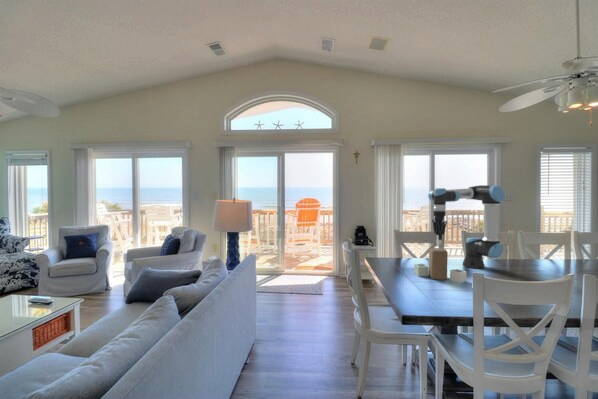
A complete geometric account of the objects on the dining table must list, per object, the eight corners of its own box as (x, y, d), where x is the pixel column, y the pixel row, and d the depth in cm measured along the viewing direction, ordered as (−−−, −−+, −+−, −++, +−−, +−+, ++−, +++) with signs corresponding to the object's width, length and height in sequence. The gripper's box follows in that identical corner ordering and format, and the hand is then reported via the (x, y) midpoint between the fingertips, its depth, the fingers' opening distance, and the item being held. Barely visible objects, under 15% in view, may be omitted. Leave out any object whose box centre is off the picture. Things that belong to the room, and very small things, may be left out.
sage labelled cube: (423, 273, 227) (423, 263, 226) (428, 276, 220) (428, 266, 219) (414, 273, 226) (414, 263, 226) (418, 276, 219) (418, 266, 219)
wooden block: (447, 280, 210) (448, 251, 209) (431, 279, 212) (432, 250, 211) (443, 276, 220) (444, 248, 219) (428, 275, 222) (429, 247, 221)
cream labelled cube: (456, 278, 214) (456, 268, 213) (466, 281, 207) (466, 271, 207) (450, 280, 210) (450, 269, 210) (459, 283, 204) (459, 272, 204)
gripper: (428, 209, 219) (428, 242, 220) (441, 211, 206) (440, 246, 207) (438, 209, 220) (437, 242, 222) (450, 211, 208) (450, 245, 209)
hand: (438, 244), depth 215 cm, fingers closed
